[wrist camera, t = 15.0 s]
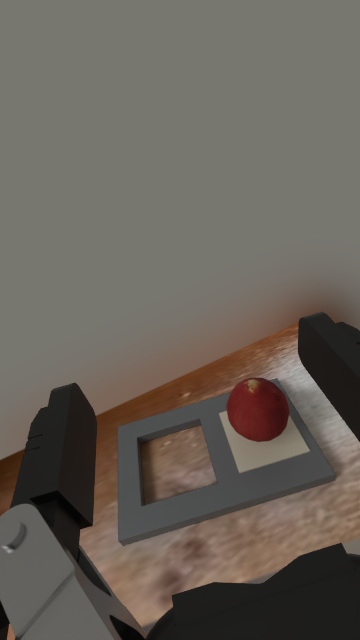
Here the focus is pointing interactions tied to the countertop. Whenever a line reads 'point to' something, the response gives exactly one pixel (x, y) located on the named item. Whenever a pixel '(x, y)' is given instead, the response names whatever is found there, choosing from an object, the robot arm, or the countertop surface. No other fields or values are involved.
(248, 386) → the onion
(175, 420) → the tray
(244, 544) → the countertop surface
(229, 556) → the countertop surface
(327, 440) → the countertop surface
